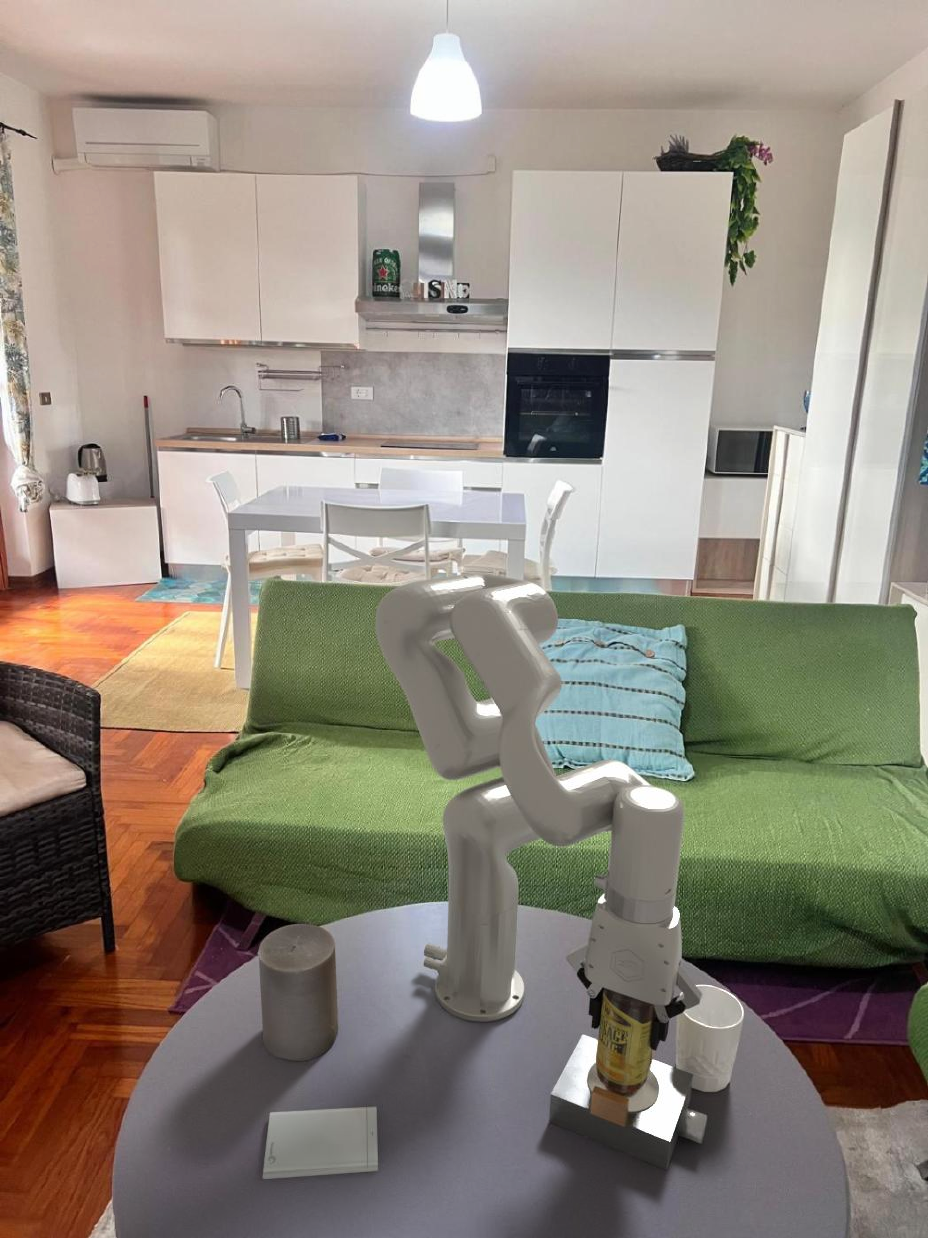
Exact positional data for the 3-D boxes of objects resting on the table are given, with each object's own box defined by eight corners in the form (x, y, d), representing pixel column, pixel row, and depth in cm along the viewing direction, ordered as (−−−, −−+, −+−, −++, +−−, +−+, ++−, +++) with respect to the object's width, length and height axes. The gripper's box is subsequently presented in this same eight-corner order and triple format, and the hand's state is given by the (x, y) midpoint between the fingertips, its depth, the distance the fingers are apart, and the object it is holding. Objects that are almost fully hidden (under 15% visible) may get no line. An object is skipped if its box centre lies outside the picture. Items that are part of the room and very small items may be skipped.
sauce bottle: (584, 1065, 109) (596, 922, 103) (629, 1051, 111) (642, 910, 106) (614, 1106, 103) (627, 956, 98) (660, 1090, 106) (676, 943, 100)
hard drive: (262, 1171, 98) (378, 1163, 99) (269, 1110, 106) (376, 1103, 107) (262, 1183, 98) (378, 1175, 100) (270, 1122, 106) (376, 1115, 108)
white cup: (737, 1102, 110) (746, 1033, 108) (671, 1090, 112) (678, 1022, 109) (732, 1055, 118) (741, 990, 115) (670, 1045, 119) (677, 980, 116)
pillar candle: (319, 1000, 125) (315, 906, 121) (350, 1044, 118) (348, 944, 113) (251, 1027, 120) (245, 929, 116) (280, 1075, 112) (274, 972, 108)
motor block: (547, 1125, 106) (550, 1075, 104) (581, 1058, 117) (585, 1012, 115) (689, 1184, 99) (696, 1132, 97) (713, 1107, 109) (719, 1059, 108)
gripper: (554, 891, 101) (545, 1026, 106) (711, 939, 93) (693, 1081, 99) (577, 860, 107) (568, 988, 112) (726, 902, 100) (708, 1037, 105)
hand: (627, 1030), depth 105 cm, fingers closed on sauce bottle, 6 cm apart
